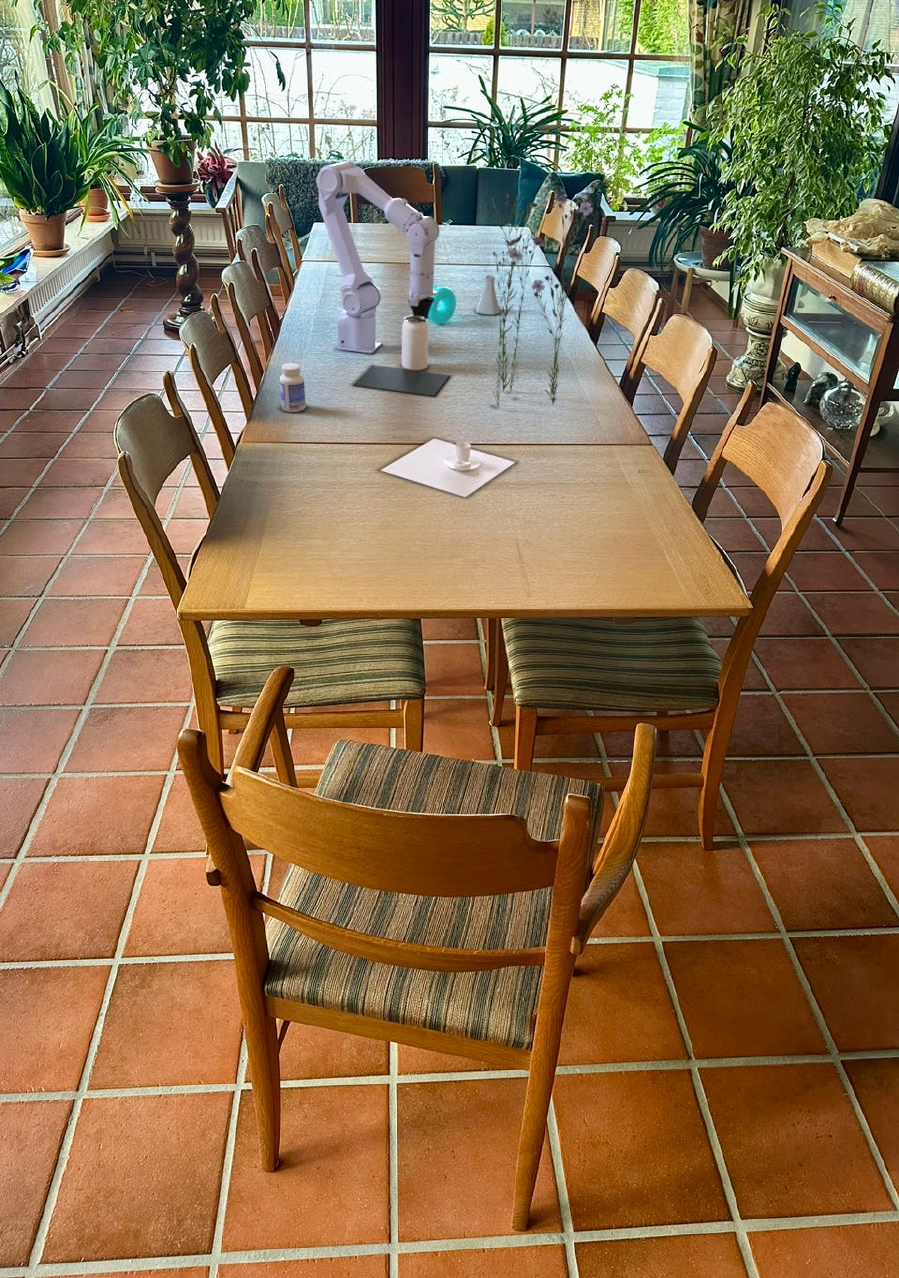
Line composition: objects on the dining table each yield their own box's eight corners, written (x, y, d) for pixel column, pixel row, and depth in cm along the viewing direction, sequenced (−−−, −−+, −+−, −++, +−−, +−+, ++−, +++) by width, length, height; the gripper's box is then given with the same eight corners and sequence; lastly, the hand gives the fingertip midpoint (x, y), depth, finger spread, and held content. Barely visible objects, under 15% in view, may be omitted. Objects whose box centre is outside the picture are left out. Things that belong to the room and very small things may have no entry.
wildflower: (463, 408, 227) (474, 198, 201) (496, 377, 244) (510, 180, 219) (557, 426, 220) (580, 211, 195) (584, 393, 238) (608, 191, 213)
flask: (472, 312, 288) (473, 277, 282) (480, 306, 294) (482, 271, 288) (495, 316, 286) (497, 281, 280) (503, 310, 292) (506, 275, 286)
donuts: (430, 327, 275) (431, 290, 269) (407, 318, 281) (408, 282, 276) (457, 321, 281) (459, 285, 275) (434, 312, 287) (435, 277, 281)
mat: (353, 385, 236) (353, 384, 236) (372, 366, 248) (372, 365, 247) (433, 396, 232) (434, 395, 232) (449, 376, 244) (449, 375, 244)
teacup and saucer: (467, 477, 197) (468, 458, 195) (433, 466, 200) (434, 448, 198) (489, 462, 203) (490, 443, 201) (456, 452, 207) (457, 434, 204)
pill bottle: (309, 405, 225) (307, 364, 219) (299, 414, 220) (296, 371, 215) (288, 402, 226) (285, 360, 220) (277, 410, 222) (274, 367, 216)
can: (424, 372, 246) (425, 323, 239) (398, 369, 246) (399, 321, 240) (429, 363, 251) (431, 316, 244) (405, 361, 252) (405, 313, 245)
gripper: (430, 280, 234) (428, 338, 241) (445, 266, 245) (443, 321, 253) (401, 277, 235) (400, 334, 243) (418, 263, 246) (417, 317, 254)
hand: (420, 327), depth 248 cm, fingers closed
